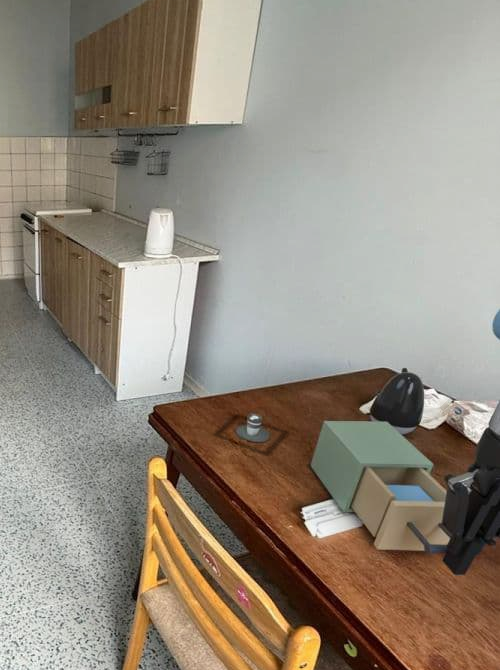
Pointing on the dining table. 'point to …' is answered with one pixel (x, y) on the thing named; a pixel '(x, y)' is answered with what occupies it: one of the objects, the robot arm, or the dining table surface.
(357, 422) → the cabinet
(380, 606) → the dining table surface
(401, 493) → the blue cuboid
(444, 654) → the dining table surface
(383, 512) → the drawer
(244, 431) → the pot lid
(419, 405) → the black bell
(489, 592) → the dining table surface
